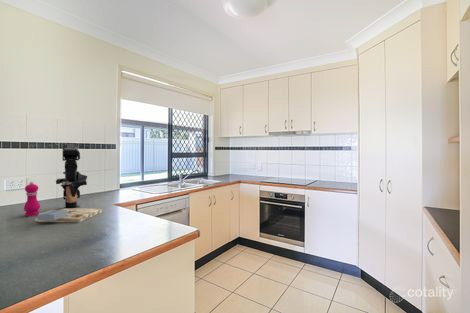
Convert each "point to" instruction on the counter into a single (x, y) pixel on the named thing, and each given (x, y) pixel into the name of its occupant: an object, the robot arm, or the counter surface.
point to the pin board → (74, 215)
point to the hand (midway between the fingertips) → (71, 196)
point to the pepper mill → (31, 200)
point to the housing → (52, 215)
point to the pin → (70, 196)
